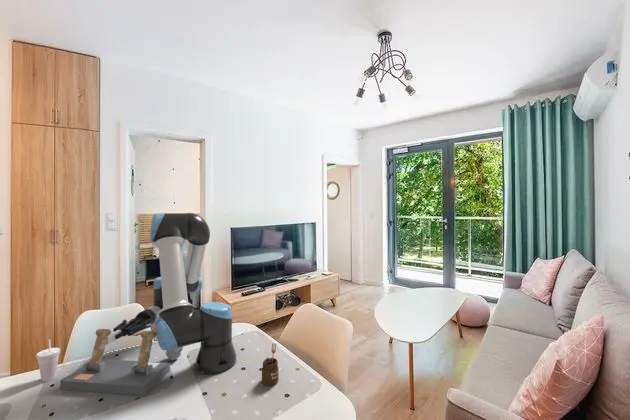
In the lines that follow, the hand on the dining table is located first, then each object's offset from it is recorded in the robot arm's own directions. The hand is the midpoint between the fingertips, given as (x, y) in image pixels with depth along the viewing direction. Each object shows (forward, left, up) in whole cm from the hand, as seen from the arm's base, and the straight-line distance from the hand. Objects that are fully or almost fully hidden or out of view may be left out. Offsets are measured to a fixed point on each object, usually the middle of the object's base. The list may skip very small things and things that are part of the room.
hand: (106, 340), depth 108 cm
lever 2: (-18, +6, -8) cm, 21 cm away
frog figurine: (-21, -10, -11) cm, 26 cm away
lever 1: (0, +6, -8) cm, 10 cm away
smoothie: (+16, +7, -11) cm, 21 cm away
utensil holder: (-63, 0, -11) cm, 64 cm away
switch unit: (-9, +5, -11) cm, 15 cm away
